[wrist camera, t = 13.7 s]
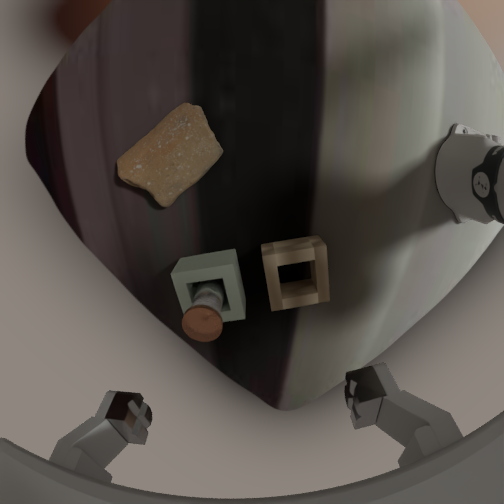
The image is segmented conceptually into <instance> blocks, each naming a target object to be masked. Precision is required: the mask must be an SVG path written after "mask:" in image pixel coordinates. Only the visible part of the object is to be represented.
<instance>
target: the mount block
mask: <svg viewBox="0 0 504 504" xmlns="http://www.w3.org/2000/svg"><path fill="white" fill-rule="evenodd" d="M261 250H262V258H263V264H264V270H265V275H266V281H267V287H268V293H269V299H270V305H271V311H277V310H283V309H289V308H294V307H300V306H306V305H311V304H316V303H322V302H327V301H330V293H329V275H328V260H327V247H326V244H325V243H324V242H323V241H322V239H321V238H320V237H319V235H315V236H309V237H303V238H297V239H291V240H284V241H278V242H272V243H266V244H261ZM305 261H310V270H311V278H310V279H304V280H299V281H293V282H287V283H281V284H280V282H279V275H278V269H277V266H281V265H287V264H293V263H299V262H305Z"/></svg>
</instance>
